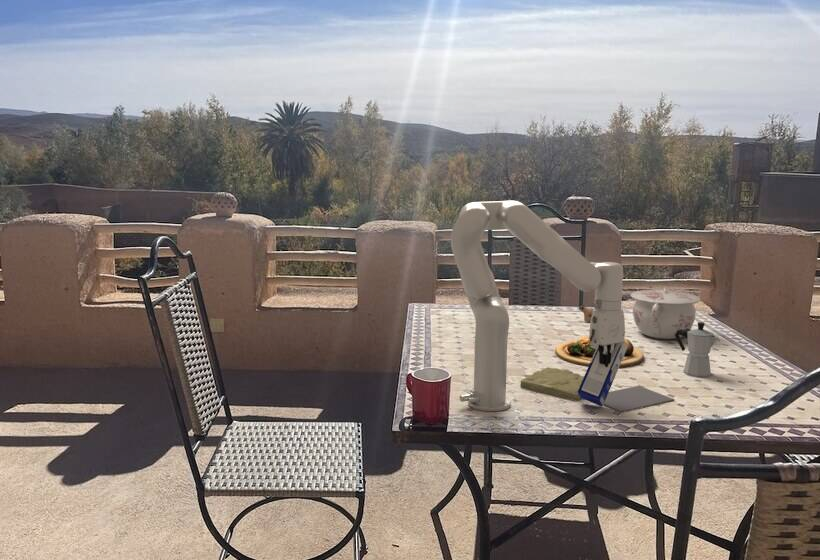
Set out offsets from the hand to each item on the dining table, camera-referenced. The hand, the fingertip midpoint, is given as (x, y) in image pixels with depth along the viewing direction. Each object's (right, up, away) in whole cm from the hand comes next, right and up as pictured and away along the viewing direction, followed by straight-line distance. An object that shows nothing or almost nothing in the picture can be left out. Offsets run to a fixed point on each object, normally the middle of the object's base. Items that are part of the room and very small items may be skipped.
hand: (604, 365), depth 198 cm
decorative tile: (-9, -10, +19) cm, 23 cm away
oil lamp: (+23, +6, +105) cm, 108 cm away
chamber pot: (+48, +2, +83) cm, 96 cm away
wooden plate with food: (+13, -4, +54) cm, 56 cm away
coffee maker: (+40, -7, +33) cm, 53 cm away
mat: (+10, -11, +7) cm, 17 cm away
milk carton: (-5, -10, 0) cm, 11 cm away
